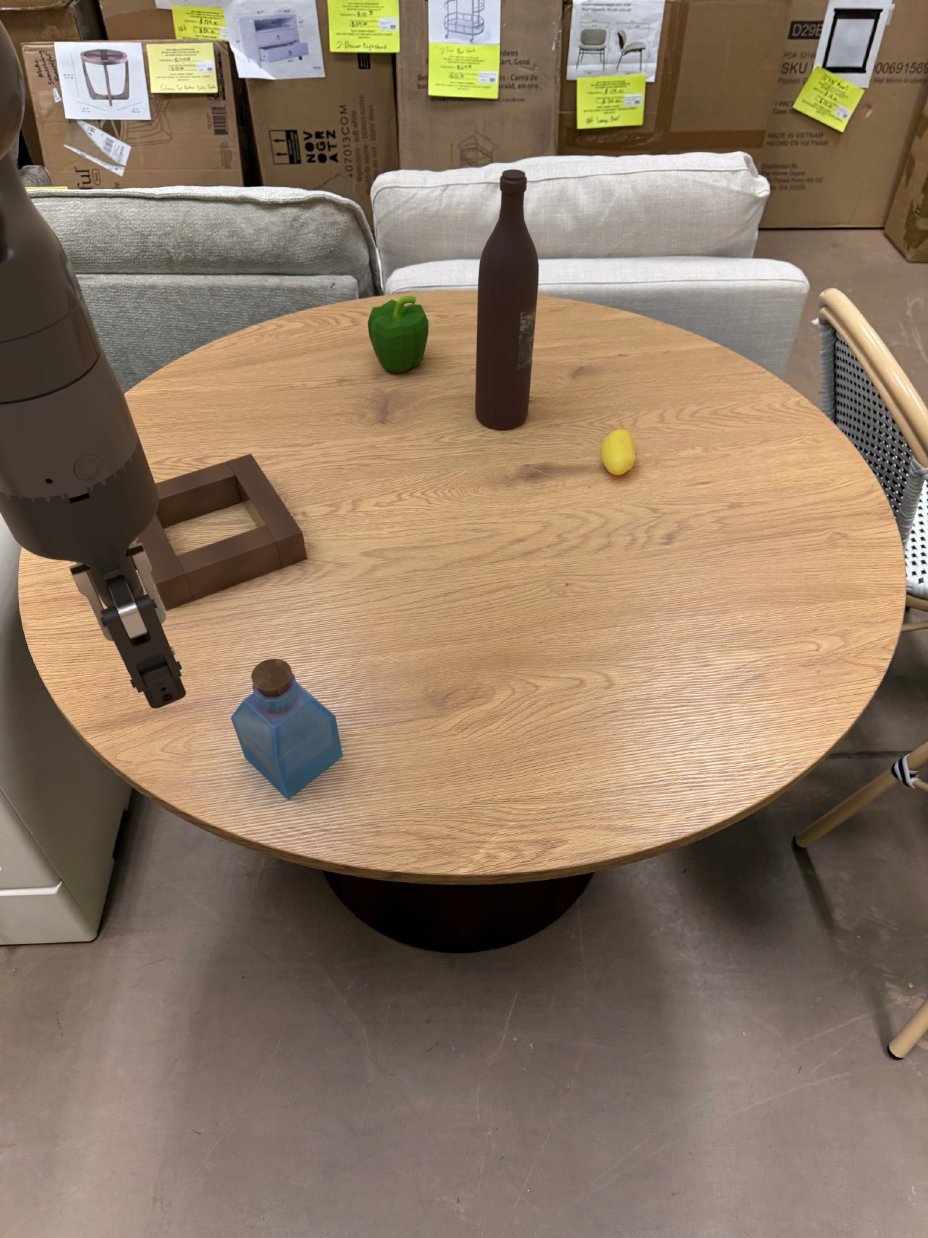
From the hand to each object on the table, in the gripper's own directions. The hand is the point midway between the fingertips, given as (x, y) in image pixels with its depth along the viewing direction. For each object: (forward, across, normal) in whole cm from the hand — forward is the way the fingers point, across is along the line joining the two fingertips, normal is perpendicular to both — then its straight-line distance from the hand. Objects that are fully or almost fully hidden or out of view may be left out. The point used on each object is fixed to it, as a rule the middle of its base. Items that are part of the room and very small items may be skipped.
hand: (149, 652), depth 52 cm
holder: (+22, -34, +11) cm, 42 cm away
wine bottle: (+22, -39, +52) cm, 68 cm away
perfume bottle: (+22, -3, +8) cm, 24 cm away
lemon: (+22, -23, +59) cm, 67 cm away
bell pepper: (+22, -57, +46) cm, 76 cm away
